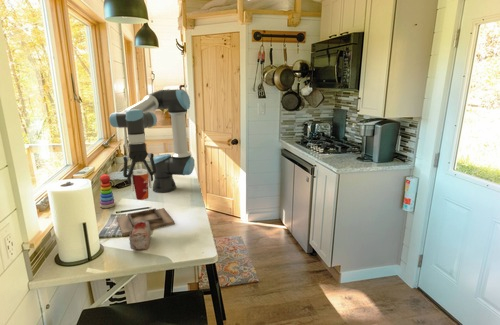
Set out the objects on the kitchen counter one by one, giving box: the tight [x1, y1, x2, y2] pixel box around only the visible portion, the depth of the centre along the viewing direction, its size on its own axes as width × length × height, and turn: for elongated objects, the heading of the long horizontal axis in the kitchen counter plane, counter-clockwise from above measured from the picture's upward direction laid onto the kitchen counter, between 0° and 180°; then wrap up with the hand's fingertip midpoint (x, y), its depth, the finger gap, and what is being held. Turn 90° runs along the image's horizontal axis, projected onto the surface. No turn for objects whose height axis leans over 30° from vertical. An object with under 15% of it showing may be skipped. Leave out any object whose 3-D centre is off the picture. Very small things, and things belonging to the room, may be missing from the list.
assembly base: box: [116, 207, 176, 237], centre depth 151 cm, size 24×20×4 cm
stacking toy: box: [99, 174, 116, 209], centre depth 171 cm, size 8×8×19 cm
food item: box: [128, 220, 152, 251], centre depth 129 cm, size 14×8×10 cm, turn 15°
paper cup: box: [131, 168, 150, 201], centre depth 146 cm, size 8×8×14 cm
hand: (141, 188), depth 147 cm, fingers closed on paper cup, 8 cm apart
